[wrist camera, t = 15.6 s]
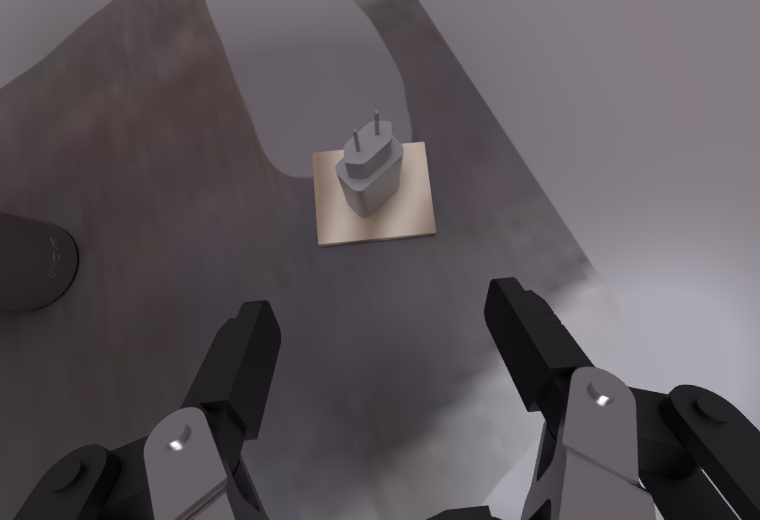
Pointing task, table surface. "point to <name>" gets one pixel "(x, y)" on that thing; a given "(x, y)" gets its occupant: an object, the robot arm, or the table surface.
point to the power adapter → (370, 167)
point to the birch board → (391, 220)
